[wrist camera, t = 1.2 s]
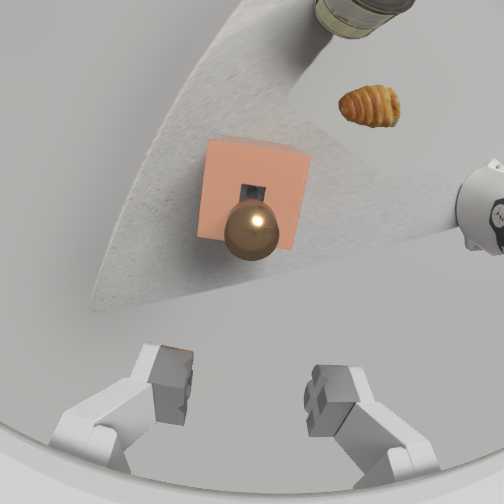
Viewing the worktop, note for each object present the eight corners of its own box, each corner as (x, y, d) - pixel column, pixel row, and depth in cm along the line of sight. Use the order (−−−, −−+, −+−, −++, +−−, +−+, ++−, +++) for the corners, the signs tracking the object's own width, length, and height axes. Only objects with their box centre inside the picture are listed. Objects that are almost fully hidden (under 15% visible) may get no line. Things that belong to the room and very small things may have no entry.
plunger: (295, 162, 31) (322, 187, 19) (281, 232, 34) (297, 294, 22) (220, 151, 30) (198, 168, 18) (211, 222, 33) (188, 279, 21)
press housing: (291, 145, 43) (310, 156, 29) (279, 209, 47) (291, 250, 32) (223, 135, 43) (208, 140, 28) (214, 200, 47) (197, 236, 32)
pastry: (340, 129, 42) (347, 130, 39) (334, 87, 40) (340, 84, 36) (394, 126, 42) (405, 127, 38) (389, 85, 39) (399, 83, 36)
